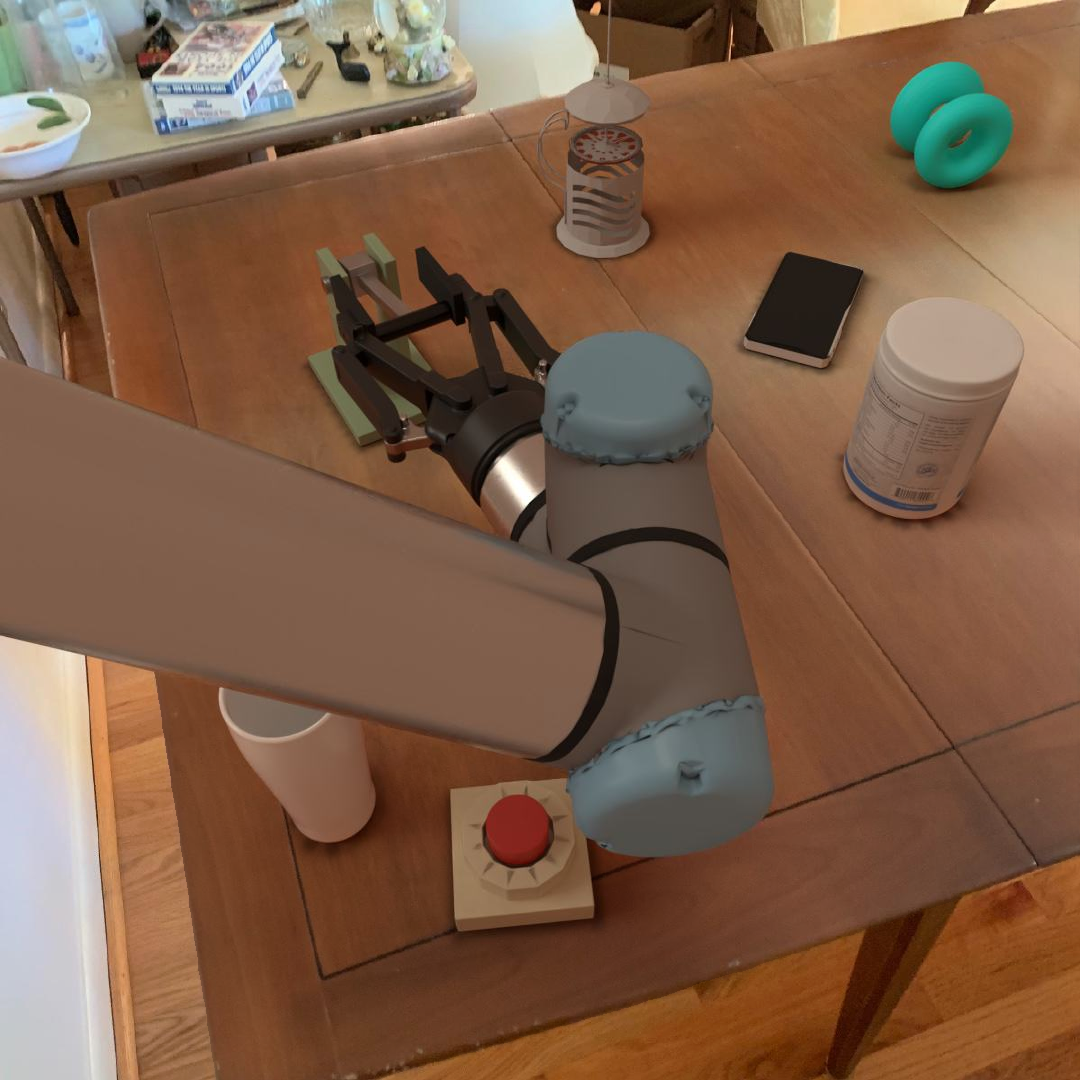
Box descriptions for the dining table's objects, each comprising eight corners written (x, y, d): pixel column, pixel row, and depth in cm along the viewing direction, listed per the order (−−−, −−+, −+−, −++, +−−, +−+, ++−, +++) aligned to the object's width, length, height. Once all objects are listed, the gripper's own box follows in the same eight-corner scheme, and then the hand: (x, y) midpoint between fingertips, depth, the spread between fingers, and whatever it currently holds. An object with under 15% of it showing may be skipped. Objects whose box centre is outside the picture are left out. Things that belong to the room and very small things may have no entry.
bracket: (456, 409, 85) (440, 276, 74) (360, 447, 82) (329, 314, 72) (399, 333, 92) (378, 202, 81) (310, 366, 89) (274, 234, 78)
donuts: (960, 141, 111) (990, 52, 104) (998, 188, 105) (1032, 98, 97) (876, 149, 111) (899, 60, 103) (909, 197, 104) (936, 106, 97)
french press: (645, 262, 98) (664, -2, 79) (531, 252, 99) (522, -9, 80) (654, 207, 104) (674, -50, 85) (547, 199, 106) (542, -56, 86)
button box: (457, 932, 57) (451, 909, 54) (453, 803, 62) (447, 775, 59) (593, 918, 57) (595, 894, 54) (577, 791, 62) (578, 763, 59)
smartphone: (866, 268, 95) (829, 360, 86) (863, 279, 96) (826, 371, 87) (785, 250, 97) (741, 338, 88) (783, 260, 98) (739, 348, 89)
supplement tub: (901, 422, 83) (954, 277, 71) (987, 492, 78) (1060, 347, 66) (814, 468, 80) (855, 323, 68) (899, 543, 74) (958, 401, 63)
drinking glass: (384, 749, 64) (345, 621, 53) (392, 847, 60) (351, 731, 49) (281, 766, 64) (218, 640, 52) (282, 866, 60) (213, 754, 48)
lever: (455, 328, 71) (449, 297, 69) (380, 355, 69) (372, 325, 68) (390, 271, 80) (384, 243, 79) (322, 294, 79) (314, 266, 77)
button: (489, 868, 56) (487, 857, 54) (485, 809, 58) (484, 796, 57) (552, 862, 56) (551, 851, 54) (546, 803, 58) (545, 790, 57)
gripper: (395, 573, 59) (269, 358, 72) (656, 460, 65) (496, 279, 78) (377, 490, 54) (244, 273, 67) (665, 374, 59) (491, 194, 72)
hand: (380, 277), depth 72 cm, fingers closed on lever, 6 cm apart
